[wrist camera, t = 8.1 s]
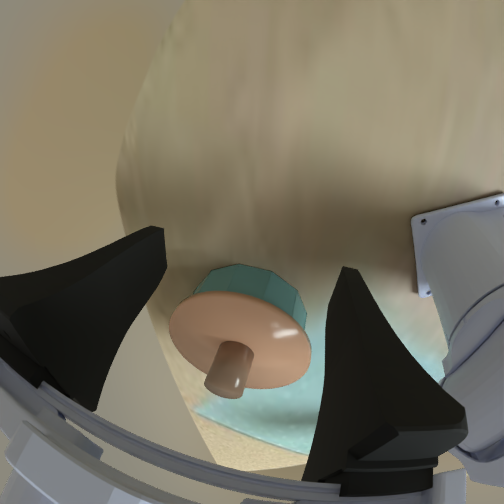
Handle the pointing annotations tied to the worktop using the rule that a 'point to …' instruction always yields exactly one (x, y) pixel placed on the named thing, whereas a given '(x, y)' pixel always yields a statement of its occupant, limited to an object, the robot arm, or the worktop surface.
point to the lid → (239, 342)
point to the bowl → (256, 288)
